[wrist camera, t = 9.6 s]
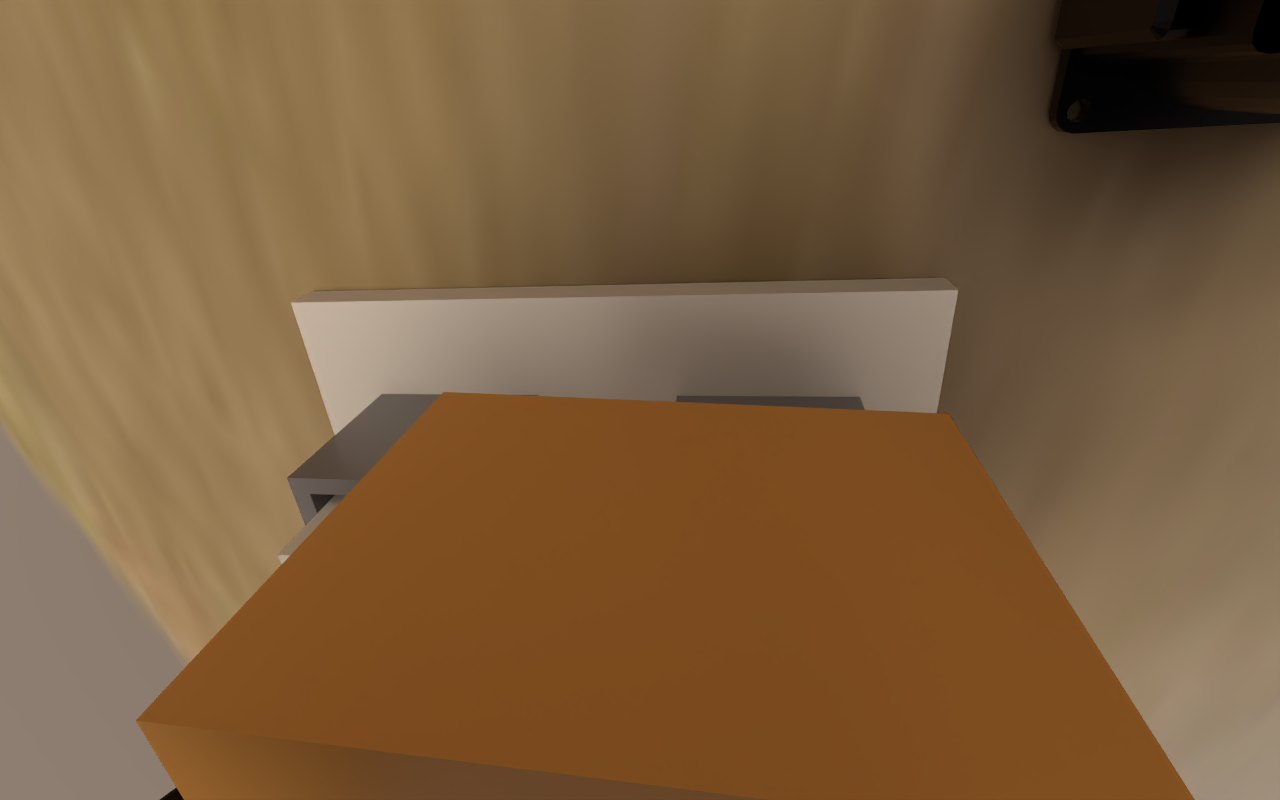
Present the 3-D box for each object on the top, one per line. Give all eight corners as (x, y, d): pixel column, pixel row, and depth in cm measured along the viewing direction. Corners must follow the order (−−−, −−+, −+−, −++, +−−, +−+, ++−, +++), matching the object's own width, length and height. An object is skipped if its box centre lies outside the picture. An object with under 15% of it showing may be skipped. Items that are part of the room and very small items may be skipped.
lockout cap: (948, 413, 8) (1231, 858, 4) (869, 749, 12) (962, 1213, 7) (443, 392, 9) (135, 720, 5) (502, 707, 13) (360, 1091, 8)
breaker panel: (945, 277, 18) (1036, 365, 12) (893, 590, 23) (942, 747, 18) (313, 291, 21) (163, 366, 15) (398, 565, 26) (310, 692, 21)
